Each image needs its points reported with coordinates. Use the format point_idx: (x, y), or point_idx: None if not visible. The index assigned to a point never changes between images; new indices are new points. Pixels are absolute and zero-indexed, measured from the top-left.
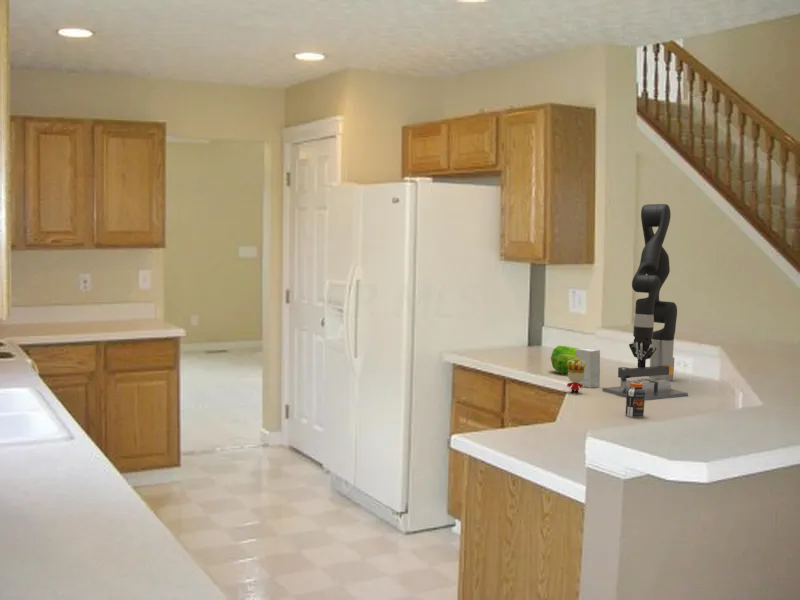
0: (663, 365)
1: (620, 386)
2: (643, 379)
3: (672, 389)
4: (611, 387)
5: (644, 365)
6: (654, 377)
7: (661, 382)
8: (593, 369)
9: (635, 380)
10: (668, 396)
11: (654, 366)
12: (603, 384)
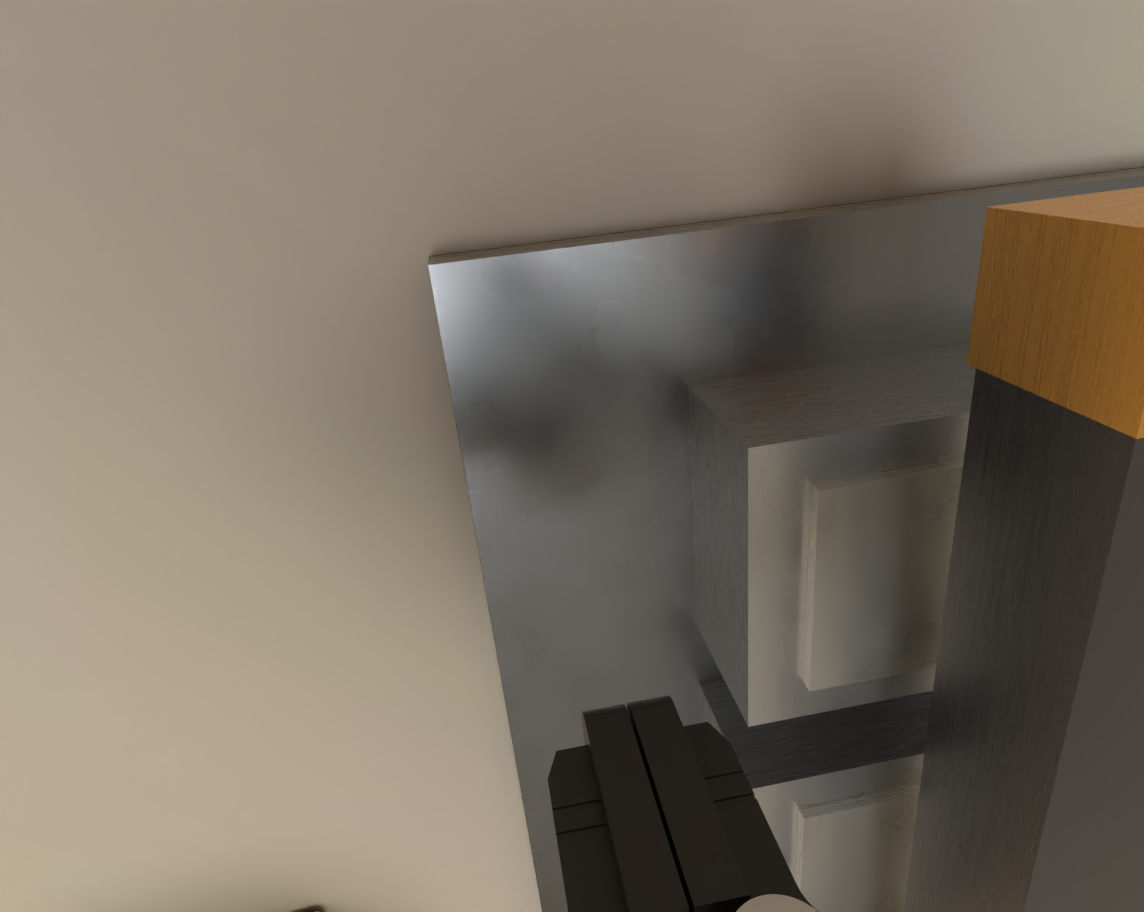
0: (1139, 424)
1: (524, 798)
2: (807, 710)
3: (980, 205)
4: (555, 908)
5: (734, 789)
6: (833, 498)
7: None
8: None
9: (897, 899)
10: None
11: (1073, 738)
12: (124, 798)
